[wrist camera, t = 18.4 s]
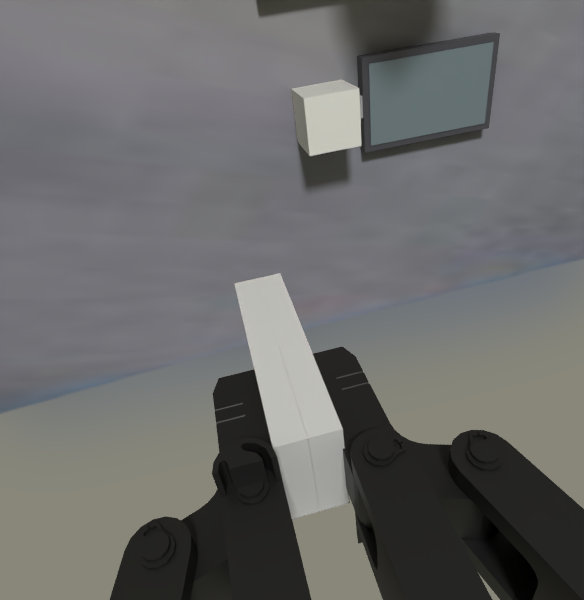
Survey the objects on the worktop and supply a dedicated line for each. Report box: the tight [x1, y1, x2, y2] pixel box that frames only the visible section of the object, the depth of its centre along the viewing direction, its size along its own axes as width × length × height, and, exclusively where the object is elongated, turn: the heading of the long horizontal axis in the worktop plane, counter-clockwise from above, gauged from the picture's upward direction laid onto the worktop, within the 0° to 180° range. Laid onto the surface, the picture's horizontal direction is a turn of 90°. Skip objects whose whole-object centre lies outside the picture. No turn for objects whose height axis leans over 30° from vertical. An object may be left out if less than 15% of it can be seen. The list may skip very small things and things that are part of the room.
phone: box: [357, 33, 500, 153], centre depth 37 cm, size 11×7×1 cm, turn 97°
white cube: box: [292, 80, 362, 156], centre depth 35 cm, size 5×4×4 cm
